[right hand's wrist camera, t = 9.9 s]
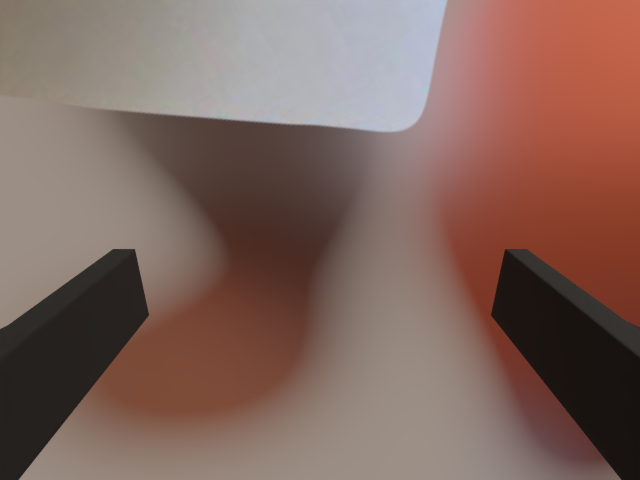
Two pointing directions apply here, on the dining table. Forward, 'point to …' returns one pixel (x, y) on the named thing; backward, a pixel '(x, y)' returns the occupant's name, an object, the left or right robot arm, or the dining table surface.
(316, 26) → the dining table surface
